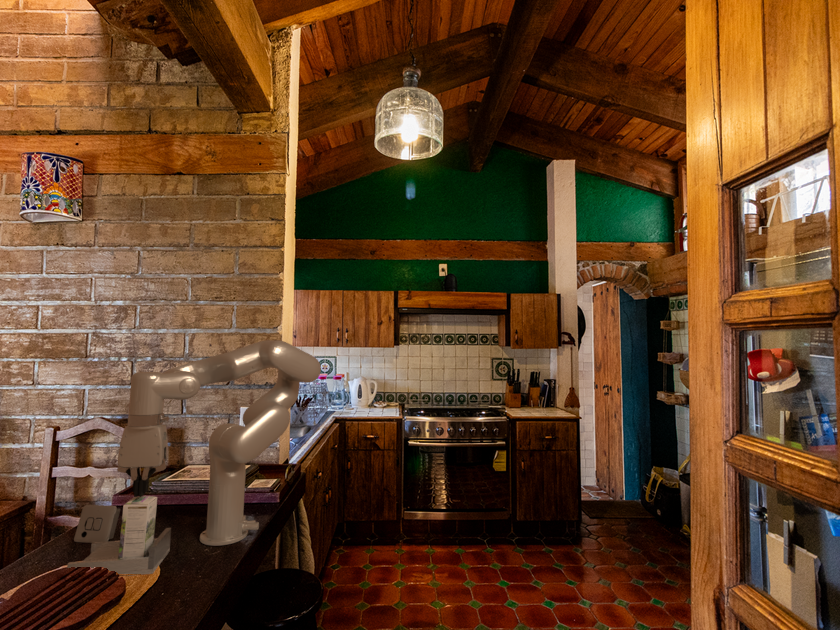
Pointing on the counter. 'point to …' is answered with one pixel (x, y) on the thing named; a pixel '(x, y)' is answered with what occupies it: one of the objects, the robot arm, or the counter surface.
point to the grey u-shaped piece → (108, 558)
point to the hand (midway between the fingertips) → (140, 495)
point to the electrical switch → (97, 523)
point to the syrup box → (137, 527)
